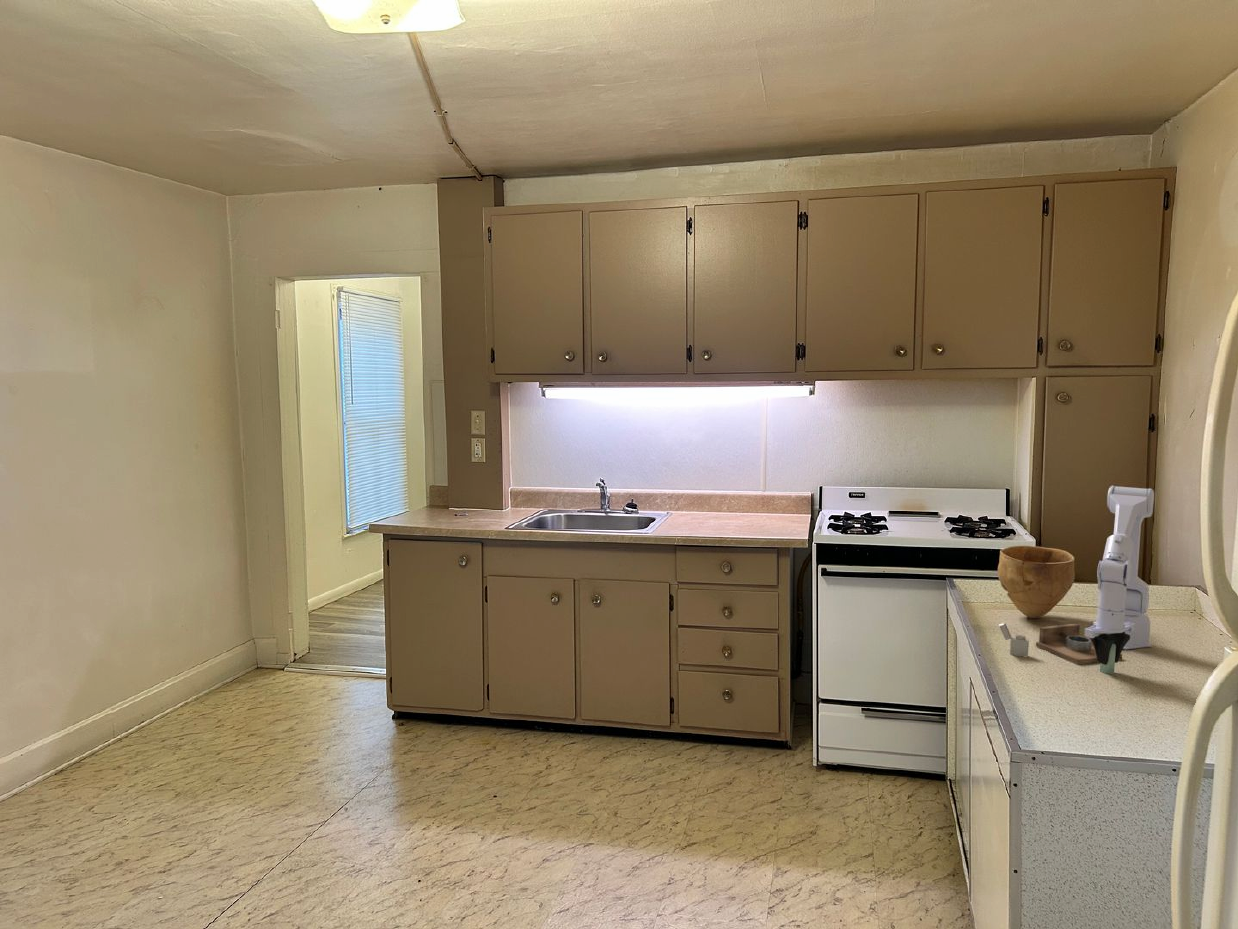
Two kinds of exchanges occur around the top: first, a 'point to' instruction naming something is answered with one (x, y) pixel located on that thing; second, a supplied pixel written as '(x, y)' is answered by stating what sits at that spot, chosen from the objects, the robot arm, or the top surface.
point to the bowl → (1035, 577)
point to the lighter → (1015, 642)
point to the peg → (1109, 662)
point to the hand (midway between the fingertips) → (1107, 662)
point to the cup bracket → (1067, 643)
